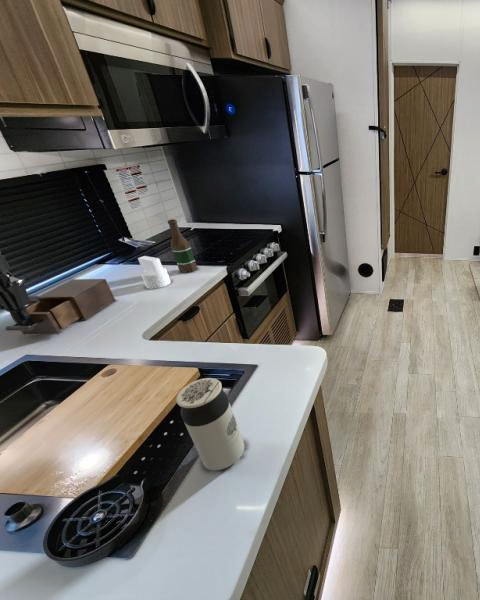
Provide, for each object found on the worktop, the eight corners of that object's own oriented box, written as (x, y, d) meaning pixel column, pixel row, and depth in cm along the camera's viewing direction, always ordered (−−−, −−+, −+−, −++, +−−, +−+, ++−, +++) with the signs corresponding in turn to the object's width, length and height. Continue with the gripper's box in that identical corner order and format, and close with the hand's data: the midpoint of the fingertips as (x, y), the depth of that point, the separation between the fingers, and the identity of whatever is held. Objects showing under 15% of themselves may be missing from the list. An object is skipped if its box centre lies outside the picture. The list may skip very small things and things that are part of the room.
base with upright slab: (175, 281, 146) (166, 255, 140) (156, 290, 139) (145, 263, 133) (160, 278, 149) (151, 253, 143) (141, 287, 141) (130, 260, 135)
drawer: (44, 342, 104) (31, 322, 101) (8, 343, 104) (-7, 322, 100) (91, 313, 121) (81, 294, 117) (59, 313, 120) (48, 294, 117)
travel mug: (194, 468, 67) (163, 404, 59) (219, 436, 74) (194, 374, 66) (230, 474, 66) (204, 410, 58) (251, 440, 73) (231, 378, 64)
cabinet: (86, 320, 118) (73, 296, 113) (50, 321, 118) (35, 297, 113) (116, 300, 131) (105, 278, 126) (83, 301, 130) (71, 279, 126)
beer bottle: (201, 269, 158) (185, 219, 146) (185, 274, 152) (167, 223, 141) (192, 265, 161) (175, 217, 150) (175, 271, 156) (157, 221, 144)
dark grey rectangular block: (46, 313, 122) (38, 301, 119) (26, 314, 122) (18, 301, 119) (56, 308, 126) (49, 295, 123) (37, 308, 126) (29, 296, 123)
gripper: (19, 253, 97) (60, 320, 108) (-26, 253, 97) (19, 321, 108) (-8, 262, 90) (38, 333, 102) (-56, 263, 90) (-5, 334, 102)
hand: (28, 327), depth 105 cm, fingers closed
